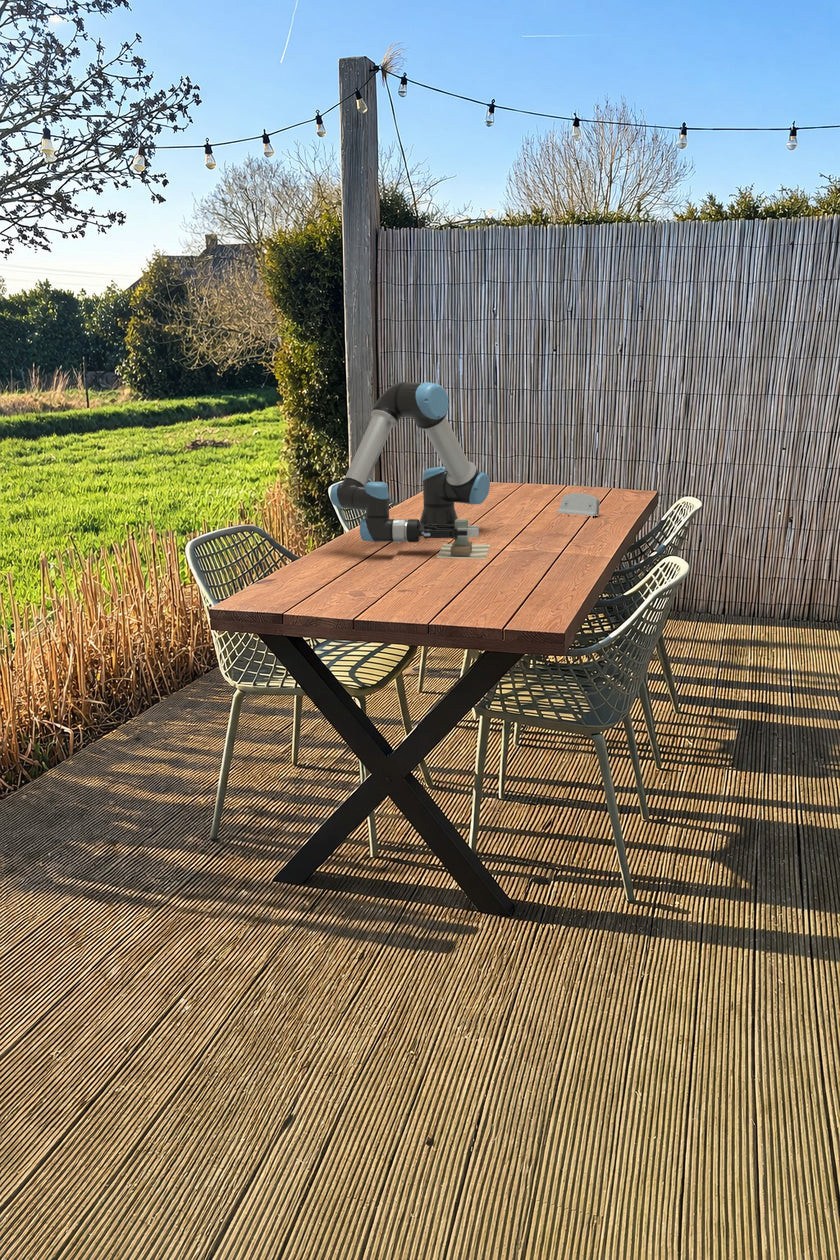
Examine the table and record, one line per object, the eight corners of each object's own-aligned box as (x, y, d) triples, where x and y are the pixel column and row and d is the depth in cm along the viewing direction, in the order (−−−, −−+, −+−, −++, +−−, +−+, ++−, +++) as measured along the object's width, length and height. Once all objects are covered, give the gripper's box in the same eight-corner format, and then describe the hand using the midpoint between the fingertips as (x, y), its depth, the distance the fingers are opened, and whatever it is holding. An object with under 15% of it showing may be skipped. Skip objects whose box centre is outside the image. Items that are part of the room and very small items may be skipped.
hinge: (555, 515, 394) (560, 490, 394) (560, 517, 398) (565, 493, 398) (594, 518, 385) (598, 493, 385) (598, 520, 389) (603, 496, 389)
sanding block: (454, 549, 326) (453, 517, 323) (472, 549, 325) (472, 517, 322) (450, 555, 316) (450, 523, 313) (469, 555, 315) (469, 523, 312)
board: (443, 548, 336) (443, 544, 336) (490, 548, 334) (490, 544, 333) (435, 562, 315) (435, 558, 315) (485, 563, 313) (485, 558, 313)
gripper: (411, 536, 330) (480, 537, 327) (403, 547, 314) (476, 548, 311) (410, 514, 328) (480, 515, 325) (402, 524, 312) (476, 524, 309)
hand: (478, 531), depth 318 cm, fingers closed on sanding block, 4 cm apart
